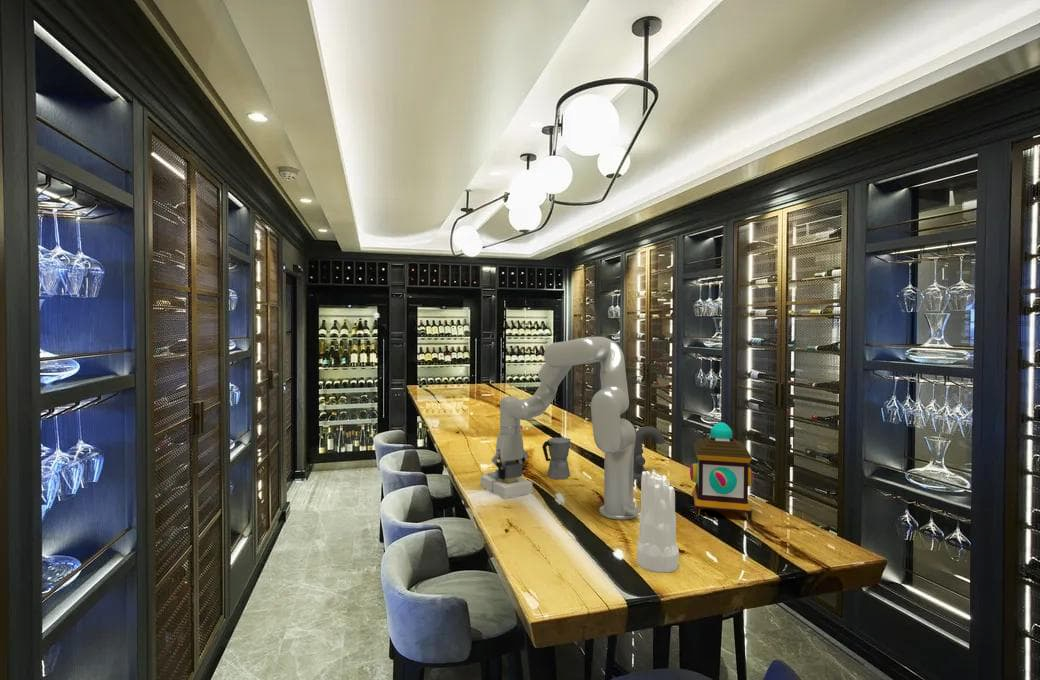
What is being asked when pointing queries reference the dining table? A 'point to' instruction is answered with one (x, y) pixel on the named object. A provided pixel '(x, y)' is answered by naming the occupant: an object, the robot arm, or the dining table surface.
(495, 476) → the plate
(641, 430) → the faucet
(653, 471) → the decorative vase
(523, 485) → the socket
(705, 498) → the decorative lantern
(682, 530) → the dining table surface
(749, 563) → the dining table surface
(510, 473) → the plug
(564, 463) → the coffeepot
